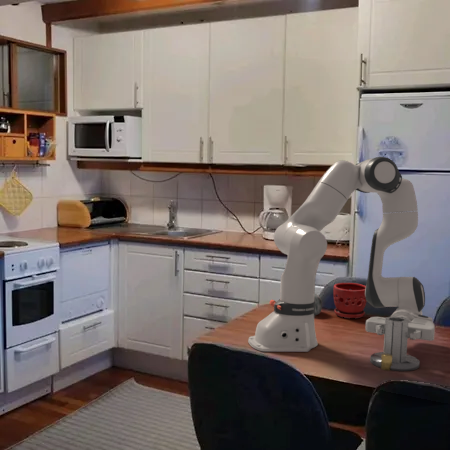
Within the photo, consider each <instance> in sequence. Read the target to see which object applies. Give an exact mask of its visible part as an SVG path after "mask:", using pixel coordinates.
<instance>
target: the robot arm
mask: <svg viewBox="0 0 450 450" xmlns="http://www.w3.org/2000/svg"><path fill="white" fill-rule="evenodd" d="M355 191H357V192H360V193H364V194H368V193H373V194H374V193H376V194H377V195H379V198H380V201H381V204H382V221H381V223H380V225H379V227H378V228H377V229H375V230H374V232H373V235H372V240H371V246H370V253H369V254H370V256H369V263H368V271H367V279H366V284H365V286H366V288H365V297H366V301H367V302H366V303H368V304H369V305H370V306H372V307H373V308H374V309H380V308H386V307H387V308H388V307H389V308H391V307H392V308H393V307H395V308H396V310H394V312H393V313H392V314H391V315H390V317H401V318H405V319H408V339H409V340H412V341H416V340H423V341H430V342H431V341H434V340H435V328H436V327H435V323H434V322H433V318H432V317H431V316H427V315H423V311H422V310H424V308H425V305H426V294H425V293H426V292H425V289H424V288H425V287H424V285H423V284H422V282H421V281H420V280H419V278H417V277H415V276H400V277H399V276H397V277H384V276H382V275H383V274H382V272H383V264H384V263H383V262H384V256H385V252H386V250H387V249H389V247H390V246H392V245H394V244H396V243H399V242H401V241H403V240H405V239H407V238H409V237H411V235H413V234H414V233H415V232H416V231H417V228H418V226H419V225H418V224H419V213H418V212H419V210H418V202H417V196H416V192H415V188H414V184H413V182H411V181H410V180H409V179H406V178H403V175H402V174H401V173H400V171H399V168H398V166H397V164H396V163H395V162H394V160H392V159H391V158H388V157H386V156H377V157H376V156H375V157H373V158H367V159H366V160H365V159H364V160H363V161H360V162H359V163H357V164H353V163H352V162H351V161H348V160H343V159H342V160H337V161H336V162H334V163H333V164H332V165H331V166H330V167H328V169H327V170H326V172H324V174H323V175H322V176H321V177H320V179H319V180H318V182H317V183H316V185H315V186H314V187H313V189H312V191H310V194H309V195H308V196H307V198H306V199H305V201H304V202H303V203H302V204H301V205H300V207H299V208H298V209H296V211H295V212H293V214H291V216H290V217H288V219H287V220H286V221H285V222H283V223H281V225H279V226H278V227H276V229H275V231H274V234H273V243H274V245H275V246H276V247H277V249H278V250H279V251H280V252H281V253H282V254H284V255H287V259H286V263H285V267H284V270H283V272H282V273H281V275H280V285H279V287H280V289H279V291H280V293H279V299H278V300H277V301H276V300H274V299H270V301H269V306H271V307H272V308H273V311H272V312H270V314H269V315H267V316H265V317H263V319H262V320H260V321H259V322H258V323H257V325H256V328H255V333H254V335H252V336H249V337H248V340H247V342H248V344H249V345H250V346H251V347H252V348H253V349H255V350H257V351H259V352H278V353H279V352H284V353H285V352H302V353H303V352H305V353H307V352H310V351H311V349H314V348H315V347H317V346H318V340H317V335H316V328H315V327H316V325H315V317H316V315H315V311H316V307H315V301H314V294H316V292H315V291H316V290H315V289H316V288H315V287H316V278H317V272H318V269H319V264H320V261H321V259H322V258H323V257H324V255H325V254H326V252H327V248H328V242H327V241H328V240H327V239H326V236H325V235H324V234H323V233H322V232H321V231H322V230H323V229H324V228H326V227H327V226H328V225H330V224H331V223H333V222H334V221H335V219H336V218H337V216H338V215H339V213H340V212H341V211H342V209H343V208H344V206H345V204H346V203H347V202H348V200H349V198H350V197H351V196H352V194H353V193H354V192H355ZM385 318H386V317H382V316H371V317H370V318H368V319H366V320H365V332H367V333H372V334H377V336H384V332H385Z"/></svg>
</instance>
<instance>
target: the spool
mask: <svg viewBox="0 0 450 450" xmlns="http://www.w3.org/2000/svg"><path fill="white" fill-rule="evenodd" d="M314 301H315V307H316V311H315V316H318V315H320V313H321V312H322V309H323V301H322V299H321V297H320V296H319V295H318V294H316V293H315V294H314Z"/></svg>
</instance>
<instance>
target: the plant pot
mask: <svg viewBox="0 0 450 450" xmlns="http://www.w3.org/2000/svg"><path fill="white" fill-rule="evenodd" d="M365 288H366V284H364V285H363V284H360V283H356V282H338V283H335V284H334V285H333V290H332V291H333V303H334V306H335V308H334V313H335V315H336V316H338V317H341V318H343V317H344V319H350V318H355V319H359V318H363V317H364V315H365V314H366V312H365V311H364V309H365V308H366V305H367V303H368V302H367V301H366V297H365Z"/></svg>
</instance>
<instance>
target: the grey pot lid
mask: <svg viewBox="0 0 450 450" xmlns="http://www.w3.org/2000/svg"><path fill="white" fill-rule="evenodd" d="M383 352H384V351H378V352H374V353H372V354H371V355H370V358H369V361H370V363H371V364H372V365H373V366H375V367H377V368H379V369H380V370H382V371H392V372H393V371H394V372H412V371H415V370H418V369H419V368H420V359H418V358H417V357H415V356H412V355H410V354H407V357H406V362H402V363H394V362H392V355H391V354H383Z"/></svg>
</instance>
